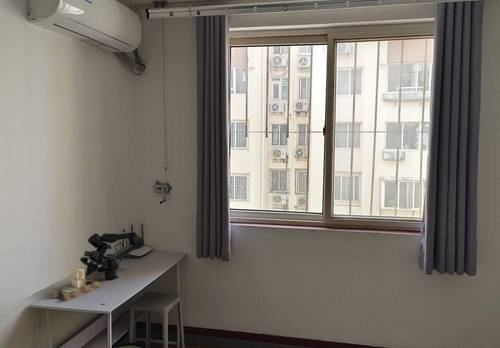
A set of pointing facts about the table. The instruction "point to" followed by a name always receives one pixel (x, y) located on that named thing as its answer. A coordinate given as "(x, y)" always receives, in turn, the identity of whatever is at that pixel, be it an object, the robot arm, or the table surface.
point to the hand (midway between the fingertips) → (86, 275)
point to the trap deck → (75, 290)
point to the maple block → (78, 278)
